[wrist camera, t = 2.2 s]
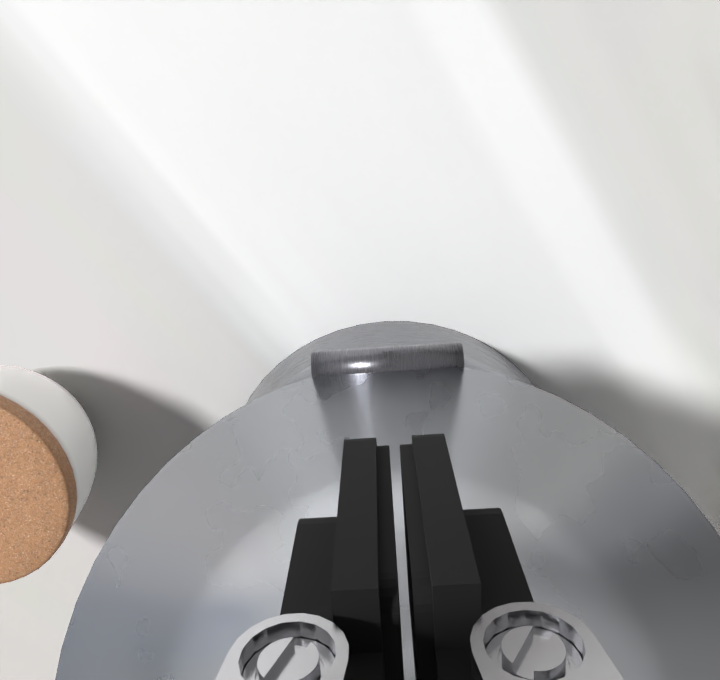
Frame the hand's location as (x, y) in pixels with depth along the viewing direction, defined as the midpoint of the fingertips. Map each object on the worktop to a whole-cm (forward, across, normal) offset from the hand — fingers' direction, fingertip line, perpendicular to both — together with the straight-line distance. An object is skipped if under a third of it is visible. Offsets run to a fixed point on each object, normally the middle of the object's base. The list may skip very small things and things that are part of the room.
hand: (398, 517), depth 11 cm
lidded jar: (+27, +21, +9) cm, 35 cm away
